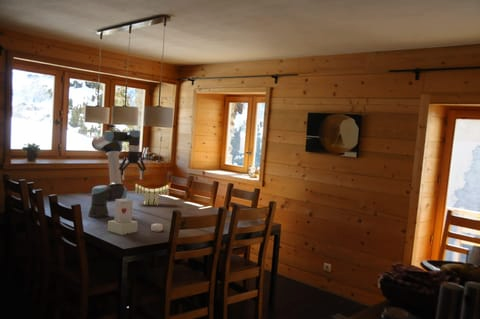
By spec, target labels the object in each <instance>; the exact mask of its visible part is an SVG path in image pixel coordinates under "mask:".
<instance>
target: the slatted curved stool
mask: <svg viewBox="0 0 480 319" xmlns="http://www.w3.org/2000/svg"><path fill="white" fill-rule="evenodd" d="M169 189H170V187H169V184H166V185H164V186H161V187H158V188H147V187H143V186H141V185H140V184H139V185H138V184H137V183H135V190H134V192H135V193H134V194H135V195H137V194H141V195H144V199H145V200H144V202H143V205H144V206H148V205H149V206H159V202H158V201H159V199H160V196H163V195H166V196H169V191H170V190H169ZM148 202H149V203H148ZM153 202H154V203H153ZM157 202H158V203H157Z"/></svg>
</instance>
